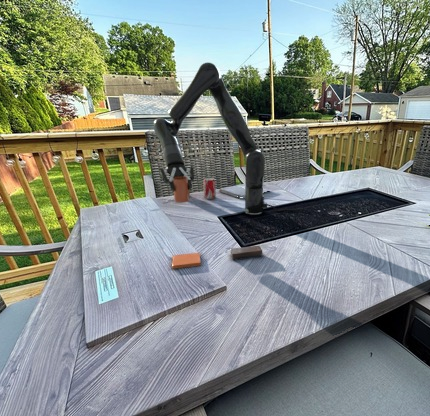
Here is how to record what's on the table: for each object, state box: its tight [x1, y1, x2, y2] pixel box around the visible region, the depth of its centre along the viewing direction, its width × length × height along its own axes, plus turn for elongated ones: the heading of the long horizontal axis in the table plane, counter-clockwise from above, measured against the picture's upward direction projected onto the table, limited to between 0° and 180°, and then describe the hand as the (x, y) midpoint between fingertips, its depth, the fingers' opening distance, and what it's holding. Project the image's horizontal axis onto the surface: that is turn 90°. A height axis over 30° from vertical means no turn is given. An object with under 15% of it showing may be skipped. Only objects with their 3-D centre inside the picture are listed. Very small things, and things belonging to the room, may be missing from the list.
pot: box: [172, 176, 190, 204], centre depth 112 cm, size 6×6×10 cm
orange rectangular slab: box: [172, 252, 202, 270], centre depth 91 cm, size 9×7×1 cm
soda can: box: [203, 177, 217, 200], centre depth 159 cm, size 7×7×12 cm
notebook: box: [219, 183, 245, 200], centre depth 177 cm, size 22×2×28 cm
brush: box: [230, 245, 263, 261], centre depth 96 cm, size 11×4×3 cm, turn 108°
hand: (182, 189), depth 111 cm, fingers closed on pot, 6 cm apart
